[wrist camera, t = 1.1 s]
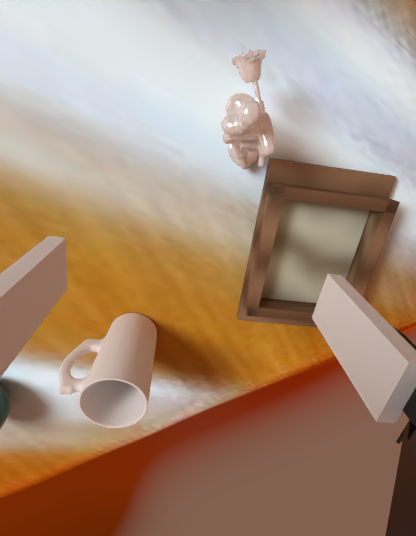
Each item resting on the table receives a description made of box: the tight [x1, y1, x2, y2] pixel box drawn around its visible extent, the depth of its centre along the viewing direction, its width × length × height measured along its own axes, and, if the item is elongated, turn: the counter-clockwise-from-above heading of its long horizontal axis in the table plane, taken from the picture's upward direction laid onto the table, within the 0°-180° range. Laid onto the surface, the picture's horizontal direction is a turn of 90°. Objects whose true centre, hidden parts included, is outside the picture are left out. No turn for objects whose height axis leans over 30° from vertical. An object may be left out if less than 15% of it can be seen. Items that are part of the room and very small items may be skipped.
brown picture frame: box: [237, 158, 400, 327], centre depth 36 cm, size 20×14×4 cm
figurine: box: [221, 50, 275, 169], centre depth 26 cm, size 5×9×12 cm, turn 18°
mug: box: [59, 313, 157, 428], centre depth 36 cm, size 10×7×12 cm, turn 81°
